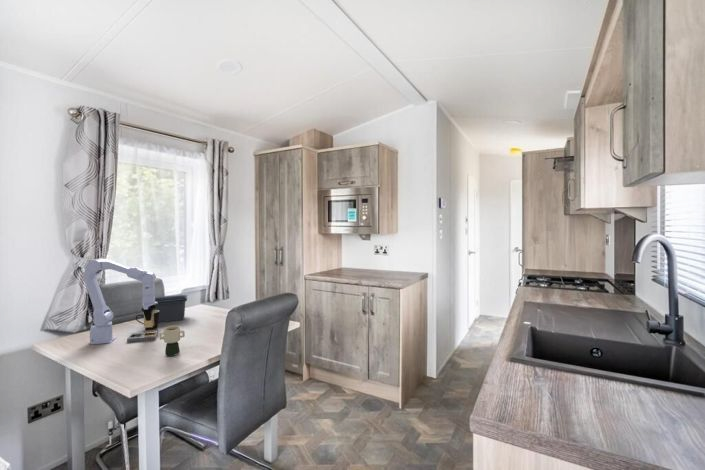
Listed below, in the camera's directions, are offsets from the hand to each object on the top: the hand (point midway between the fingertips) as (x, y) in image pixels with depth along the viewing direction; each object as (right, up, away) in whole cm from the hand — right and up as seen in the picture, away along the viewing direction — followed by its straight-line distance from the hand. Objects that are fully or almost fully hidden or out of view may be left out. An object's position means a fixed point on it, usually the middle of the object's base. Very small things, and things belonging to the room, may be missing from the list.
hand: (149, 319), depth 192 cm
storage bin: (-8, -9, +36) cm, 38 cm away
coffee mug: (-10, -10, +17) cm, 22 cm away
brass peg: (0, -4, 0) cm, 4 cm away
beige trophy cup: (+24, -12, -22) cm, 35 cm away
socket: (-3, -10, 0) cm, 11 cm away
